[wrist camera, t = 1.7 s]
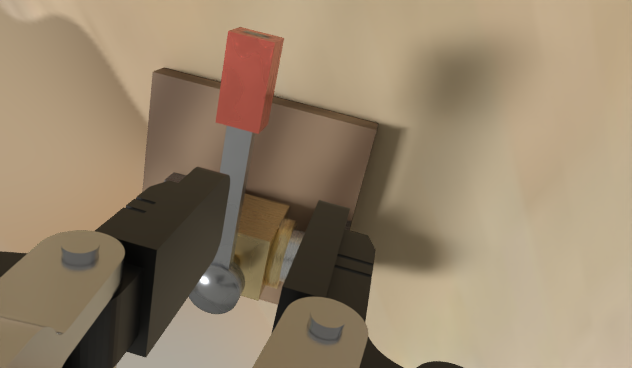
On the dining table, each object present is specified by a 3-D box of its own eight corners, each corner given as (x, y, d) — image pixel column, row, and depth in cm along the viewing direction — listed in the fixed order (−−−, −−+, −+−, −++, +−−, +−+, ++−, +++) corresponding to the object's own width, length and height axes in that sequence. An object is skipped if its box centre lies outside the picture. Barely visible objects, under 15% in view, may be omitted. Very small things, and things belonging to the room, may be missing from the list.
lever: (242, 304, 29) (232, 322, 27) (193, 290, 29) (181, 307, 27) (292, 40, 23) (284, 45, 21) (231, 24, 23) (218, 28, 21)
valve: (360, 219, 33) (347, 276, 27) (344, 273, 35) (329, 339, 28) (166, 166, 34) (111, 209, 28) (161, 221, 36) (107, 274, 30)
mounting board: (378, 123, 32) (376, 130, 31) (328, 305, 38) (324, 318, 36) (163, 67, 33) (152, 71, 32) (146, 252, 39) (136, 263, 37)
